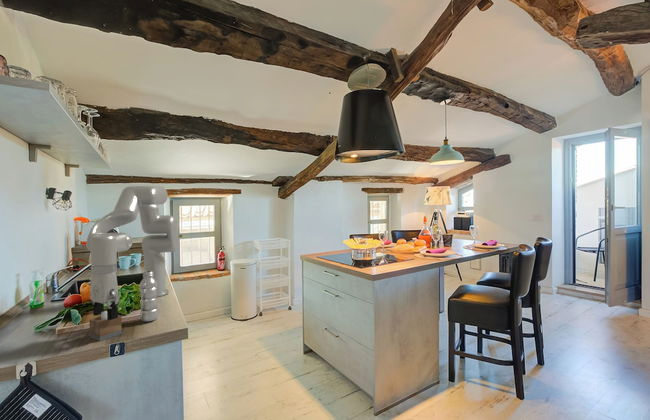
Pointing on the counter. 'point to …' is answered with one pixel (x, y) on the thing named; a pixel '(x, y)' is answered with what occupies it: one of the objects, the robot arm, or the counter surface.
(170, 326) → the counter surface
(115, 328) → the wooden block with hole
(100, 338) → the post base
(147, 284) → the plastic bottle
